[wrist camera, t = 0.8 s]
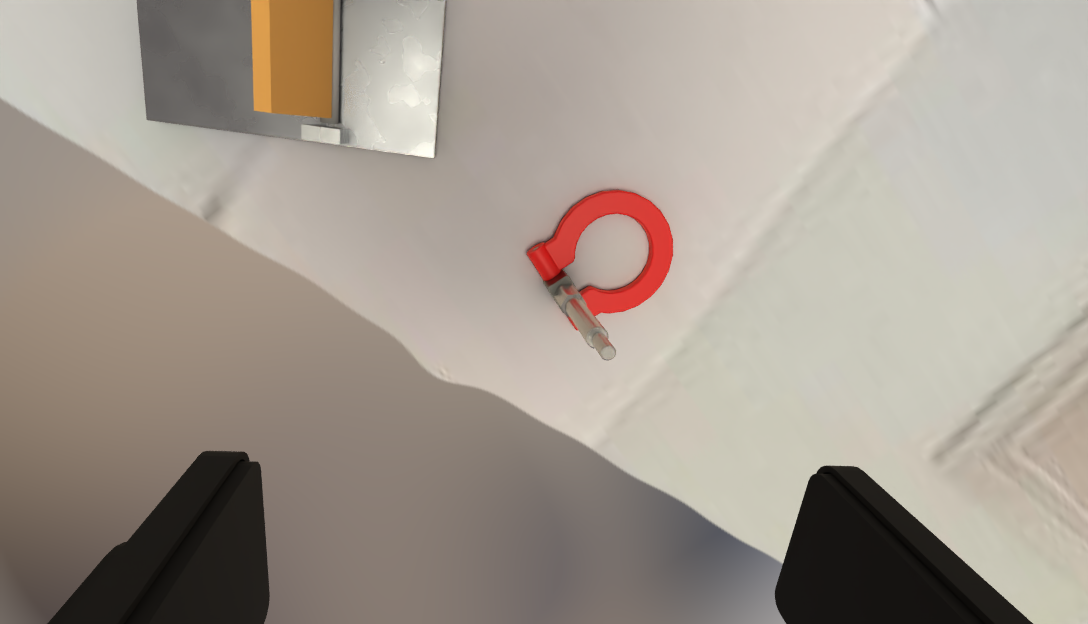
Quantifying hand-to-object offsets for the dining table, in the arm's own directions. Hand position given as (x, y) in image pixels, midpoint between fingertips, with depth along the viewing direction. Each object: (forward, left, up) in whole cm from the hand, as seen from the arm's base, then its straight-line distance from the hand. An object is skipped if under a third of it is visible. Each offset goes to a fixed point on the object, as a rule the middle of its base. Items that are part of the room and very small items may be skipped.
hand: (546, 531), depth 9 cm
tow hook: (+1, +8, -29) cm, 30 cm away
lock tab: (-9, -10, -27) cm, 30 cm away
